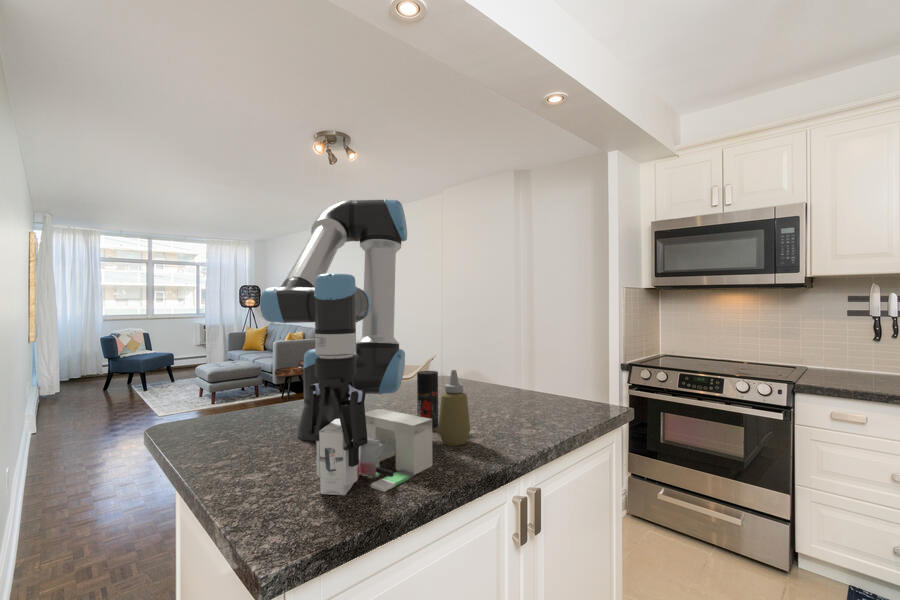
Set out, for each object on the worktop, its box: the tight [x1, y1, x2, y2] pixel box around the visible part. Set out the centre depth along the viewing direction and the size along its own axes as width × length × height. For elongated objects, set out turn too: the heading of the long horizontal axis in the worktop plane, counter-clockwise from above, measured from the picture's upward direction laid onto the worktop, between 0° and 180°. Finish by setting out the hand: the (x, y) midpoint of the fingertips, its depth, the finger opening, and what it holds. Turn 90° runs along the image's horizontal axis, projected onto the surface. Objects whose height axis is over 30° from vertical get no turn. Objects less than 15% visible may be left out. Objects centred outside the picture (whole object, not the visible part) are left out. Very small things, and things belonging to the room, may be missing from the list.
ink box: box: [319, 419, 360, 496], centre depth 82 cm, size 9×5×12 cm, turn 174°
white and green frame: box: [365, 408, 433, 493], centre depth 90 cm, size 16×15×10 cm
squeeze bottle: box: [437, 369, 471, 447], centre depth 107 cm, size 8×8×18 cm
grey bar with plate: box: [359, 437, 396, 478], centre depth 89 cm, size 12×10×7 cm
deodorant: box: [416, 370, 439, 429], centre depth 122 cm, size 6×6×15 cm
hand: (336, 477), depth 81 cm, fingers closed on ink box, 7 cm apart
